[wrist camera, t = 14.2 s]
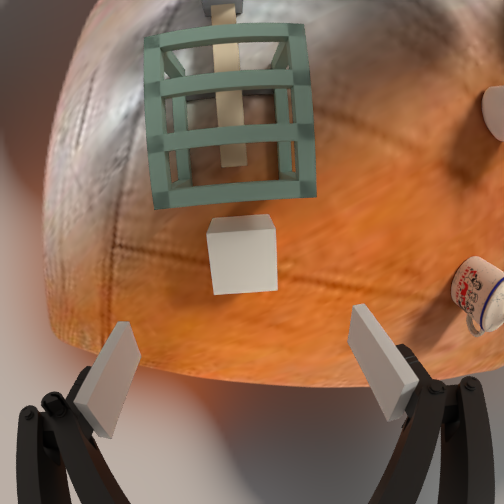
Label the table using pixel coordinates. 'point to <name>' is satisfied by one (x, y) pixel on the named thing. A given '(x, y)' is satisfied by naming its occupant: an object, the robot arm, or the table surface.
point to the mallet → (226, 59)
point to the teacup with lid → (480, 294)
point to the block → (242, 254)
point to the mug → (494, 110)
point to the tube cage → (205, 87)
